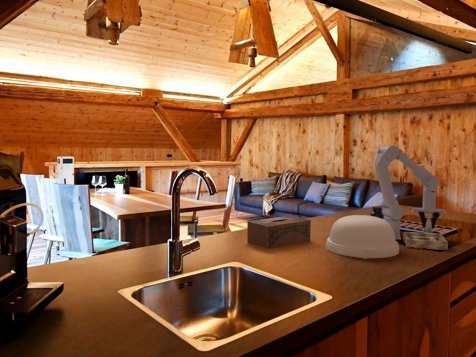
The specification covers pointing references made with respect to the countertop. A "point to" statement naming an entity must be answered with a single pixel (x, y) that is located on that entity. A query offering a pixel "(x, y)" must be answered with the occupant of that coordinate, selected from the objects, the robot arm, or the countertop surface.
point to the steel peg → (428, 224)
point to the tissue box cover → (278, 231)
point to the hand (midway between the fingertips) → (428, 227)
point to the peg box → (425, 240)
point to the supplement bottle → (377, 212)
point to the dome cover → (362, 237)
